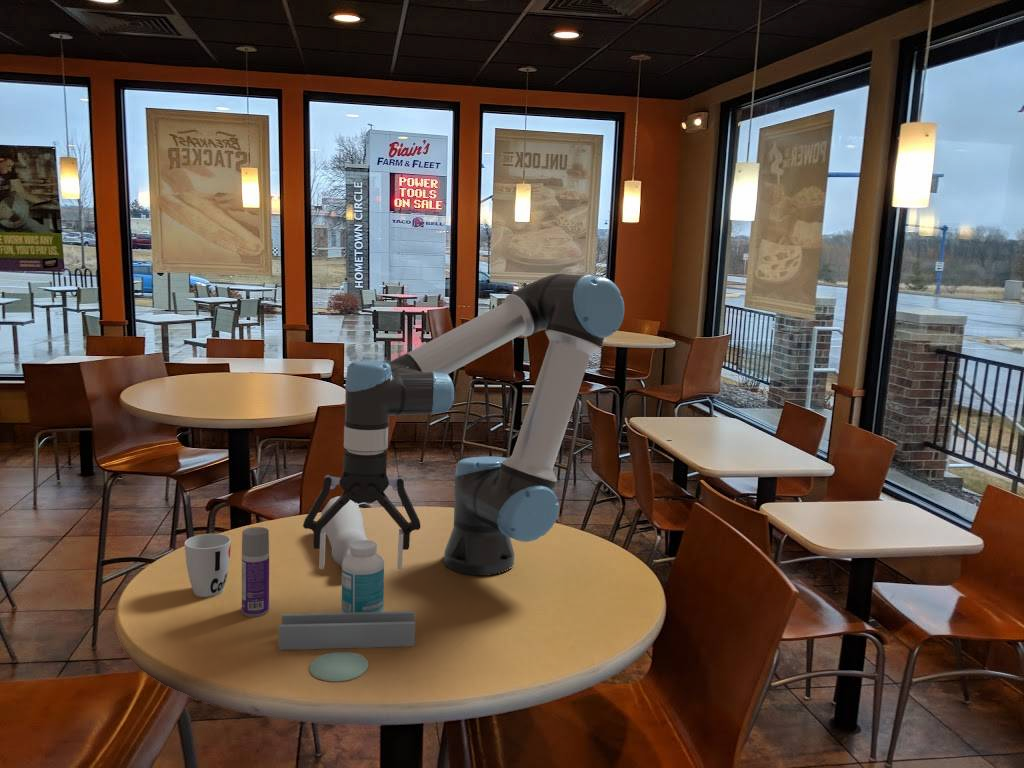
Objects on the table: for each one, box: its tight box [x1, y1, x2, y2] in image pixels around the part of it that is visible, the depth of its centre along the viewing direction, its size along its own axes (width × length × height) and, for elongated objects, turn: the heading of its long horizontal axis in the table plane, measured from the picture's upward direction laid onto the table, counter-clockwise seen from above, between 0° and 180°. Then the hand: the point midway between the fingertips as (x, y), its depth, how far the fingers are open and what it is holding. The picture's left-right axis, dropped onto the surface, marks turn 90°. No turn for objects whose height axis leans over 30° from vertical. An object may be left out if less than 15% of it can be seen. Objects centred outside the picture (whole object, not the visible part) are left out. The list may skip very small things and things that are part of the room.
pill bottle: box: [341, 539, 385, 613], centre depth 141 cm, size 8×7×14 cm
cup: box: [184, 533, 232, 598], centre depth 149 cm, size 8×8×10 cm
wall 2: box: [281, 610, 416, 625], centre depth 134 cm, size 22×1×4 cm, turn 99°
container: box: [241, 526, 270, 618], centre depth 141 cm, size 5×5×15 cm
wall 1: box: [278, 621, 416, 651], centre depth 130 cm, size 22×1×4 cm, turn 99°
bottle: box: [320, 495, 369, 567], centre depth 171 cm, size 9×9×30 cm
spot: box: [309, 651, 369, 683], centre depth 124 cm, size 9×9×1 cm
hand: (361, 566), depth 141 cm, fingers open, 13 cm apart
